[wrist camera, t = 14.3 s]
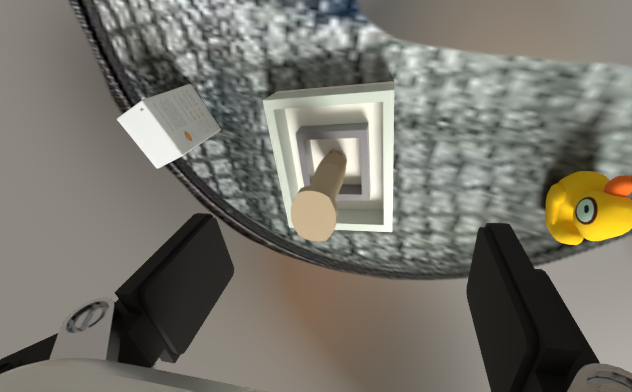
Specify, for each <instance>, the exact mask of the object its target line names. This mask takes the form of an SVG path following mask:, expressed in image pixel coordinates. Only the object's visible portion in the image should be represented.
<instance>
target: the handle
mask: <svg viewBox="0 0 632 392" xmlns="http://www.w3.org/2000/svg"><path fill="white" fill-rule="evenodd" d="M346 165H347V158H345V157H344V155H343V152H342V151H341V150H339V151H335V150H330V151H329V153H328V154H327V155H326V156H325V157H324V158H323V159H322V161H321V162H320V164H319V165H318V167H317V169H316V171H315V174H314V176H313V179H312V182H311V185H310V186H305V187H302V188H301V189H300V190H299V192H298V193H297V195H296V197H295V199H294V201H293V202H292V205H291V221H292V224H293V226H294V228H295V230H296V231H297V233H298V235H300V236H301V237H303V238H305V239H308V240H312V241H324V240H327V239H328V238H329V237H330V235H331V234H332V232H333V231H334V229H335V226H336V223H337V217H338V207H337V204H336V201H335V200H336V197H337V195H338V193H339V190H340V188H341V186H342V184H343V180H344V177H345V172H346Z"/></svg>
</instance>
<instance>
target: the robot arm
mask: <svg viewBox="0 0 632 392" xmlns="http://www.w3.org/2000/svg"><path fill="white" fill-rule="evenodd" d="M233 273H234V266H233V264H232V261H231V258H230V255H229V253H228V250H227V247H226V244H225V242H224V239H223V236H222V234H221V230H220V228H219V225H218V222H217V220H216V219H215V218H213V216H212V215H211V214H201V213H197V214H194V215H193V216H192V217H191V218H190V219H189V220H188V221H187V222H186V223H185V224H184V225H183V226H182V227H181V228H180V229H179V230H178V231H177V232H176V233H175V234H174V235H173V236H172V237H171V238H170V239H169V240H168V241H167V242H166V243H165V244H164V245H162V247H160V248H159V250H157V251H156V252H155V253H154V254H153V255H152V257H150V258H149V259H148V260H147V261H146V262H145V263H144V264H143V265H142V266H141V267H140V268H139V269H138V270H137V271H136V272H135V273H134V274H133V275H132V276H131V277H130V278H129V279H128V280H127V281H126V282H125V283H124V284H123V285H122V286H121V287H120V288H119V289H118V290H117V291H116V292H115V294H116V295H117V297H118V298H119V299H118V300H117V301H116V302H114V301H113V300H112V299H111V298H107V297H103V298H98V299H94V300H91V301H89V302H87V303H85V304H83V305H82V306H80V307H78V308H77V309H76V310H74V311H73V312H72V313H71V314H70V315H69V316H68V317H67V318H66V319H65V320H64V322H63V323H62V326H61V327H60V330H59V333H57V334H55V335H53V336H51V337H49V338H46V339H45V340H42V341H40V342H38V343H35V344H33V345H31V346H29V347H27V348H24V349H22V350H20V351H18V352H16V353H14V354H11V355H9V356H7V357H5V358H3V359H1V360H0V392H265V391H260V390H256V389H250V388H246V387H240V386H236V385H231V384H226V383H221V382H216V381H212V380H207V379H201V378H196V377H191V376H186V375H181V374H176V373H171V372H166V371H161V370H156V369H155V366H156V364H155V362H156V361H157V359H158V358H160V359H161V360H162V361H165V362H170V363H175V362H176V361H177V359H178V358H179V356H180V354H183V353H184V352H185V351H186V349H187V348H188V347H189V345H190V343H191V342H192V340H193V339H194V337H195V335H196V334H197V332H198V331H199V329H200V327H201V326H202V324H203V323H204V321H205V319H206V318H207V316H208V315H209V313H210V311H211V310H212V308H213V307H214V305H215V303H216V302H217V300H218V298H219V297H220V295H221V294H222V292H223V291H224V289H225V287H226V286H227V284H228V283H229V281H230V279H231V278H232V276H233ZM467 299H468V303H469V307H470V311H471V315H472V319H473V323H474V326H475V330H476V334H477V338H478V342H479V345H480V349H481V354H482V357H483V361H484V365H485V369H486V373H487V376H488V381H489V385H490V388H491V392H632V373H630V372H628V371H626V370H624V369H622V368H619V367H615V366H612V365H608V364H600V363H599V360H598V359H597V357H596V355H595V354H594V352H593V350H592V349H591V347H590V345H589V344H588V342H587V340H586V339H585V337H584V335H583V334H582V332H581V331H580V328H579V327H578V325H577V323H576V322H575V320H574V318H573V317H572V315H571V313H570V312H569V310H568V308H567V307H566V305H565V303H564V302H563V300H562V298H561V296H560V295H559V293H558V291H557V290H556V288H555V286H554V285H553V283H552V281H551V280H550V278H549V276H548V275H547V274H546V272H545V271H543V270H541V269H534V267H533V265H532V263H531V262H530V260H529V258H528V256H527V254H526V253H525V251H524V249H523V247H522V245H521V244H520V242H519V240H518V238H517V236H516V235H515V233H514V231H513V229H512V227H511V226H510V224H506V223H487V224H486V225H485V227H480V228H479V230H478V234H477V239H476V244H475V249H474V254H473V259H472V264H471V268H470V273H469V278H468V283H467Z"/></svg>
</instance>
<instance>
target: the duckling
mask: <svg viewBox="0 0 632 392" xmlns="http://www.w3.org/2000/svg"><path fill="white" fill-rule="evenodd" d="M631 192H632V176H618V177H615V178H614V179H612V180H609V179H608V178H607V177H606V176H604V175H603V174H600V173H597V172H592V171H579V172H575V173H572V174H570V175H568V176H566V177H564V178H562V179H561V180H560V181H559V182H558V183H557V184H554V185H553V186H552V187H551V188H550V190H549V192H548V194H547V197H546V213H545V223H546V226H547V228H548V230H549V231H550V233H551V234H552V236H553V237H554V238H555V239H556V240H557V241H559V242H562V243H565V244H570V245H577V244H579V243H581V242H582V241H583V238H585V239H587V240H590V241H600V240H604V239H607V238H612V237H616V236H619V235H622V234H624V233H626V232H628V231H629V230H630V229H631V228H632V200H630V199H629V198H628V197H626V196H628V195H629V194H630V193H631Z"/></svg>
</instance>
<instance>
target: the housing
mask: <svg viewBox="0 0 632 392" xmlns="http://www.w3.org/2000/svg"><path fill="white" fill-rule="evenodd" d="M263 104H264V109H265V114H266V119H267V123H268V128H269V133H270V138H271V142H272V147H273V152H274V157H275V161H276V166H277V171H278V176H279V180H280V185H281V190H282V195H283V199H284V204H285V209H286V214H287V218H288V223H289V228H294V226H293V224H292V221H291V205H292V202H293V201H294V199H295V197H296V195H297V193H298V192H299V190H300V189H301V188H302V187H305V186H310V185H311V182H312V179H313V176H314V174H315V171H316V169H317V167H318V165H319V164H320V162H321V161H322V159H323V158H324V157H325V156H326V155H327V154H328V153H329V151H330V150H335V151H339V150H341V151H342V152H343V155H344V157H345V158H347V165H346V172H345V177H344V180H343V184H342V186H341V188H340V190H339V193H338V195H337V197H336V200H335V201H336V204H337V207H338V217H337V223H336V226H335V229H334V230H356V231H379V232H392V210H393V137H394V81H389V82H377V83H366V84H354V85H343V86H332V87H320V88H309V89H297V90H286V91H277V92H275V93H274V94H272V95H271V96H269V97H268V98H266V99H264V100H263Z"/></svg>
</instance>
